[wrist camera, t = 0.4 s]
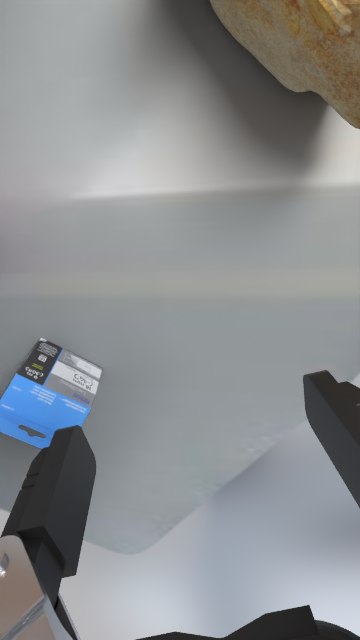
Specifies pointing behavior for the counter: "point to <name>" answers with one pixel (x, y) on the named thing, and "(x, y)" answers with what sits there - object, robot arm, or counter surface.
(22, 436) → the label tape cartridge
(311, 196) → the counter surface
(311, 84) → the stone
